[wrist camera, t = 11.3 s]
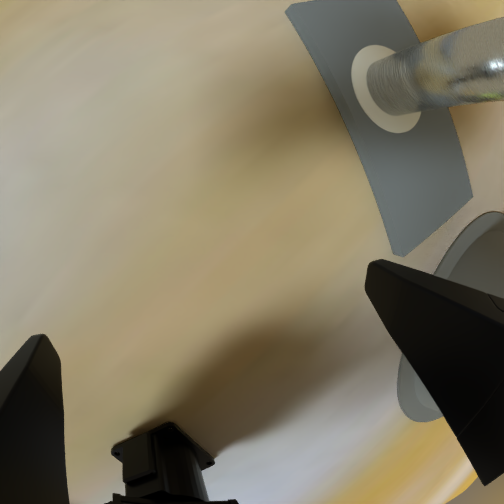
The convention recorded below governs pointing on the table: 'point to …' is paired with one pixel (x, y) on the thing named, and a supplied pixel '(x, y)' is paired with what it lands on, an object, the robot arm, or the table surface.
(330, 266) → the table surface
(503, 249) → the grey tapered cylinder
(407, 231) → the mat
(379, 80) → the metal pin
